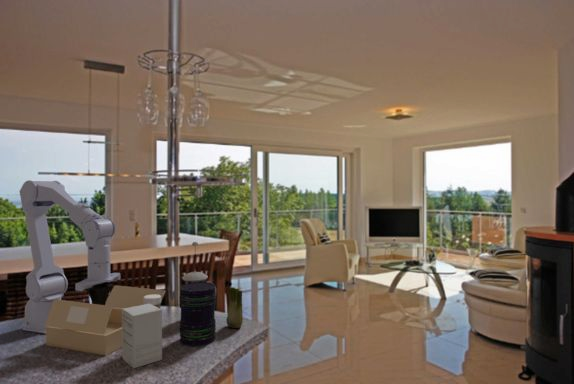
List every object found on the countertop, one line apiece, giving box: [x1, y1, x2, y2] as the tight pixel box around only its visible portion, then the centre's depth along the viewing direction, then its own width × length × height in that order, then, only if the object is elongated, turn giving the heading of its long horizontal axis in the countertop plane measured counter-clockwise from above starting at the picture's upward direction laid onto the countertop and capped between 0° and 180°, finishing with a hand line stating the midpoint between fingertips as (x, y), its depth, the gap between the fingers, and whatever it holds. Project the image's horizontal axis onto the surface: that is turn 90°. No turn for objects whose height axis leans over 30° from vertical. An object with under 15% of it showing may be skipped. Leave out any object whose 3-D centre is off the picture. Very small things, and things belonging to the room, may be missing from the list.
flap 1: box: [45, 299, 114, 335], centre depth 108 cm, size 19×7×1 cm
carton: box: [45, 307, 123, 356], centre depth 116 cm, size 20×20×5 cm
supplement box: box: [121, 304, 163, 369], centre depth 101 cm, size 7×7×13 cm
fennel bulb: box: [226, 286, 244, 329], centre depth 125 cm, size 6×5×12 cm
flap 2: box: [105, 284, 166, 309], centre depth 128 cm, size 19×7×1 cm
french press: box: [178, 241, 217, 323], centre depth 132 cm, size 10×12×25 cm
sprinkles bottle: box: [143, 294, 162, 309], centre depth 110 cm, size 5×5×14 cm
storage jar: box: [178, 281, 217, 348], centre depth 115 cm, size 10×10×15 cm
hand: (99, 310), depth 115 cm, fingers closed
